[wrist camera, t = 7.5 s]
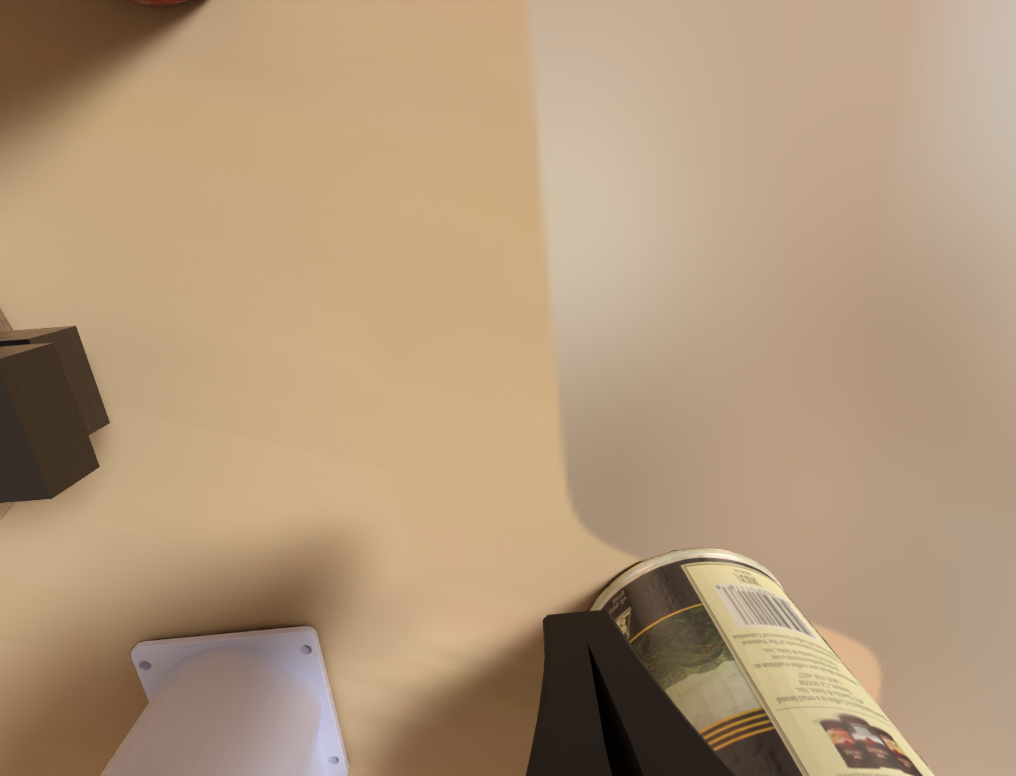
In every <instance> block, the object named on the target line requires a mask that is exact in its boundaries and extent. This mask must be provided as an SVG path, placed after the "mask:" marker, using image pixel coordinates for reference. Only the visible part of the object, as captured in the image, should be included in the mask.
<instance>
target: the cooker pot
mask: <svg viewBox="0 0 1016 776" xmlns="http://www.w3.org/2000/svg"><path fill="white" fill-rule="evenodd" d="M41 343H54V344H55V347H56V349H57V352H58V355H59V358H60V360H61V363H62V366H63V368H64V371H65V374H66V377H67V379H68V382H69V385H70V387H71V390H72V393H73V396H74V398H75V401H76V404H77V406H78V409H79V412H80V415H81V417H82V420H83V423H84V425H85V428H86V431H87V434H88V435H89V434H91V433H93V432H95V431H97V430H98V429H100V428H102V427H104V426H105V425H107V424H109V423H110V422H109V419H108V416H107V413H106V411H105V408H104V405H103V402H102V399H101V396H100V393H99V391H98V388H97V385H96V382H95V379H94V376H93V373H92V371H91V368H90V365H89V362H88V359H87V356H86V353H85V351H84V348H83V345H82V342H81V339H80V336H79V333H78V331H77V328H76V326H69V327H55V328H42V329H28V330H15V331H13V329H12V327H11V325H10V324H9V322H8V321H7V319H6V317H5V316H4V314H3V312H2V311H1V309H0V347H1V346H15V345H28V344H41ZM14 503H15V502H6V503H0V519H1V518H2V517H3V516H4V515H5V514H6V513H7V512H8V510H9V509H10V508H11V507H12V505H13V504H14Z"/></svg>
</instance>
